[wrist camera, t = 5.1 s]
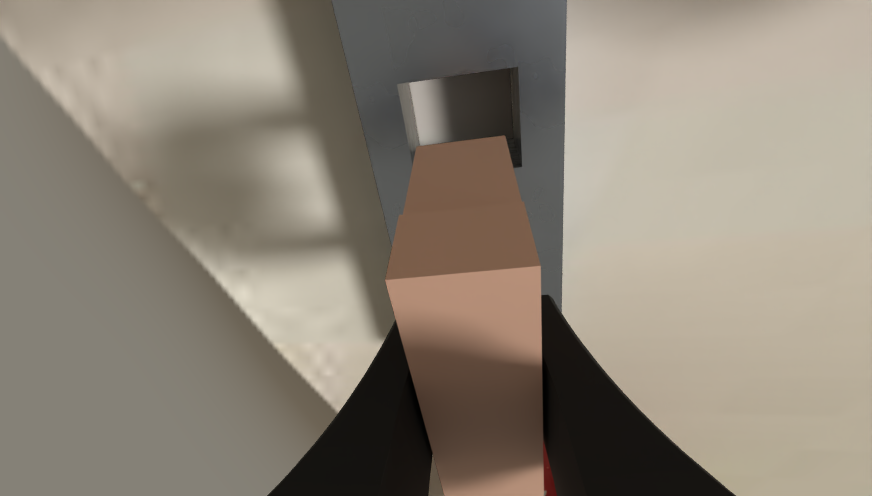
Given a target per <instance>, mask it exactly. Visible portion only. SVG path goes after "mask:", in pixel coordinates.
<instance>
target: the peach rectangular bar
mask: <svg viewBox="0 0 872 496" xmlns="http://www.w3.org/2000/svg"><path fill="white" fill-rule="evenodd" d="M385 282H386V285H387V289H388V293H389V296H390V300H391V304H392V307H393V311H394V315H395V318H396V322H397V325H398V329H399V333H400V336H401V340H402V344H403V347H404V351H405V355H406V358H407V362H408V365H409V369H410V373H411V376H412V380H413V384H414V387H415V391H416V395H417V398H418V402H419V405H420V409H421V413H422V416H423V420H424V424H425V427H426V431H427V434H428V438H429V442H430V445H431V449H432V453H433V456H434V460H435V464H436V467H437V471H438V474H439V478H440V482H441V485H442V489H443V493H444V496H544V467H543V396H542V325H541V265H540V261H539V258H538V254H537V250H536V246H535V242H534V238H533V235H532V231H531V227H530V223H529V219H528V215H527V212H526V208H525V204H524V201H523V202H522V200H521V196H520V192H519V188H518V184H517V180H516V176H515V172H514V168H513V164H512V161H511V157H510V153H509V149H508V145H507V141H506V137H505V135H503V136H496V137H488V138H480V139H472V140H464V141H456V142H448V143H441V144H433V145H425V146H417V147H416V151H415V156H414V161H413V166H412V171H411V176H410V181H409V186H408V191H407V196H406V201H405V206H404V211H403V215H399V217H398V222H397V227H396V231H395V236H394V241H393V245H392V250H391V255H390V259H389V264H388V269H387V273H386V278H385Z"/></svg>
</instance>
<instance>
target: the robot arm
mask: <svg viewBox="0 0 872 496" xmlns="http://www.w3.org/2000/svg"><path fill="white" fill-rule="evenodd" d="M541 325H542V396H543V441H544V444H545V448H546V452H547V456H548V460H549V464H550V468H551V472H552V476H553V480H554V485H555V489H556V494H557V496H736V495H734V494H733V493H732V492H731V491H729V490H728V489H727V488H726V487H725V486H723V485H722V484H721V483H720V482H719V481H718V480H716V479H715V478H714V477H713V476H712V475H710V474H709V473H708V472H707V471H706V470H705V469H703V468H702V467H701V466H700V465H699V464H697V463H696V462H695V461H694V460H693V459H692V458H690V457H689V456H688V455H687V454H686V453H685V452H683V451H682V450H681V449H680V448H679V447H678V446H677V445H676V444H675V443H674V442H672V441H671V440H670V439H669V438H668V437H667V436H666V435H665V434H664V433H663V432H662V431H661V430H660V429H659V428H657V427H656V426H655V425H654V424H653V423H652V422H651V421H650V420H649V419H648V418H647V417H646V416H645V415H644V414H643V413H642V412H641V411H640V410H639V409H638V408H637V407H636V406H635V404H634V403H633V402H632V401H631V400H630V399H629V398H628V397H627V396H626V395H625V394H624V393H623V392H622V391H621V389H620V388H619V387H618V386H617V385H616V384H615V383H614V381H613V380H612V379H611V378H610V377H609V376H608V375H607V373H606V372H605V371H604V370H603V369H602V367H601V366H600V365H599V364H598V363H597V361H596V360H595V359H594V358H593V356H592V355H591V354H590V352H589V351H588V350H587V349H586V347H585V346H584V345H583V343H582V342H581V341H580V339H579V338H578V337H577V335H576V334H575V333H574V331H573V330H572V328H571V327H570V325H569V324H568V322H567V321H566V319H565V318H564V316H563V315H562V313H561V312H560V310H559V308H558V307H557V305H556V303H555V301H554V299H553V298H552V297H551V296H549V295H541ZM432 454H433V453H432V449H431V445H430V442H429V438H428V434H427V431H426V427H425V424H424V420H423V416H422V413H421V409H420V405H419V402H418V398H417V395H416V391H415V387H414V384H413V380H412V376H411V373H410V369H409V365H408V362H407V358H406V355H405V351H404V347H403V344H402V340H401V336H400V333H399V329H398V325H397V322H396V320H395V322H394V324H393V326H392V328H391V330H390V332H389V333H388V335H387V337H386V339H385V341H384V343H383V344H382V346H381V348H380V350H379V351H378V353H377V355H376V357H375V358H374V360H373V362H372V363H371V365H370V367H369V368H368V370H367V372H366V373H365V375H364V376H363V378H362V379H361V381H360V382H359V384H358V385H357V387H356V388H355V390H354V391H353V393H352V394H351V396H350V397H349V399H348V400H347V402H346V403H345V405H344V406H343V407H342V409H341V410H340V412H339V413H338V414H337V416H336V417H335V419H334V420H333V421H332V422H331V424H330V425H329V426H328V427H327V429H326V430H325V431H324V433H323V434H322V435H321V436H320V438H319V439H318V440H317V441H316V443H315V444H314V445H313V446H312V447H311V449H310V450H309V451H308V452H307V453H306V454H305V455H304V457H303V458H302V459H301V460H300V461H299V462H298V464H297V465H296V466H295V467H294V468H293V469H292V470H291V472H290V473H289V474H288V475H287V476H286V477H285V478H284V479H283V480H282V481H281V482H280V483H279V484H278V485H277V486H276V487H275V489H273V490H272V491H271V492H270V493H269V494H268V495H267V496H428V493H429V481H430V472H431V463H432Z"/></svg>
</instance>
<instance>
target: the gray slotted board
mask: <svg viewBox="0 0 872 496" xmlns="http://www.w3.org/2000/svg"><path fill="white" fill-rule="evenodd" d="M332 4H333V8H334V13H335V17H336V21H337V25H338V29H339V33H340V37H341V41H342V45H343V49H344V53H345V58H346V62H347V66H348V70H349V74H350V78H351V82H352V86H353V90H354V94H355V98H356V103H357V107H358V111H359V115H360V119H361V123H362V127H363V131H364V135H365V139H366V143H367V148H368V152H369V156H370V160H371V164H372V168H373V172H374V176H375V180H376V184H377V189H378V193H379V197H380V201H381V205H382V209H383V213H384V217H385V221H386V225H387V229H388V234H389V238H390V242H391V246H392V245H393V241H394V236H395V231H396V227H397V222H398V217H399V215H403V211H404V206H405V201H406V196H407V191H408V186H409V181H410V176H411V171H412V166H413V161H414V156H415V151H416V147H417V146H420V143H419V137H418V132H417V126H416V120H415V115H414V109H413V103H412V97H411V92H410V86H409V82H416V81H423V80H430V79H437V78H444V77H450V76H457V75H464V74H471V73H478V72H485V71H492V70H499V69H506V68H510V78H511V98H512V118H513V138H514V139H506V141H507V145H508V149H509V153H510V157H511V161H512V164H513V168H514V172H515V176H516V180H517V184H518V188H519V192H520V196H521V200H522V202H523V201H524V204H525V208H526V212H527V215H528V219H529V223H530V227H531V231H532V235H533V238H534V242H535V246H536V250H537V254H538V258H539V261H540V265H541V295H549V296H551V297H552V298H553V299H554V301H555V303H556V305H557V307H558V308H559V310H560V312H562V252H563V193H564V133H565V73H566V14H567V0H332Z"/></svg>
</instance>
